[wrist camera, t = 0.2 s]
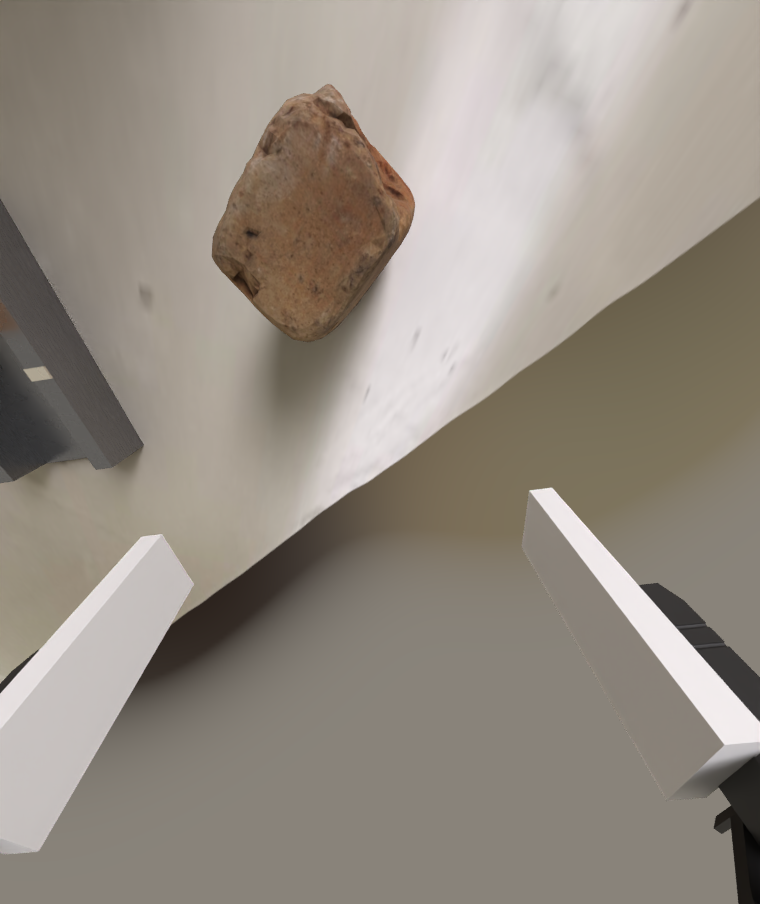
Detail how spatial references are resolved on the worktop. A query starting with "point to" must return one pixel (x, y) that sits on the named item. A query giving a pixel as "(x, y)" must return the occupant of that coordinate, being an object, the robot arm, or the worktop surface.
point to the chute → (49, 376)
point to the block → (312, 217)
